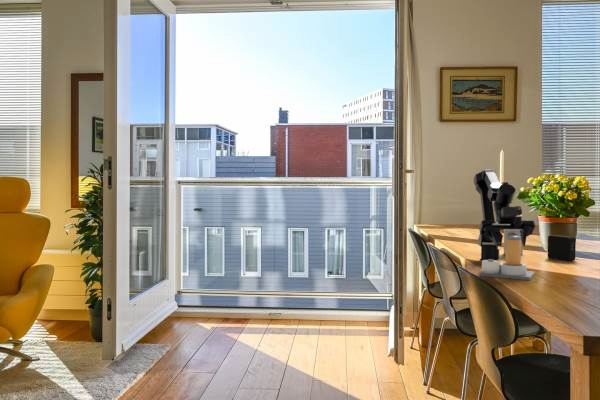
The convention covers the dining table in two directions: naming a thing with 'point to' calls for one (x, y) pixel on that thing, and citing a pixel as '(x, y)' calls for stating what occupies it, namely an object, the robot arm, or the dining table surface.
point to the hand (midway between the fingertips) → (511, 245)
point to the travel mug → (513, 233)
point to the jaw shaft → (513, 251)
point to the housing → (505, 270)
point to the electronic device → (561, 247)
